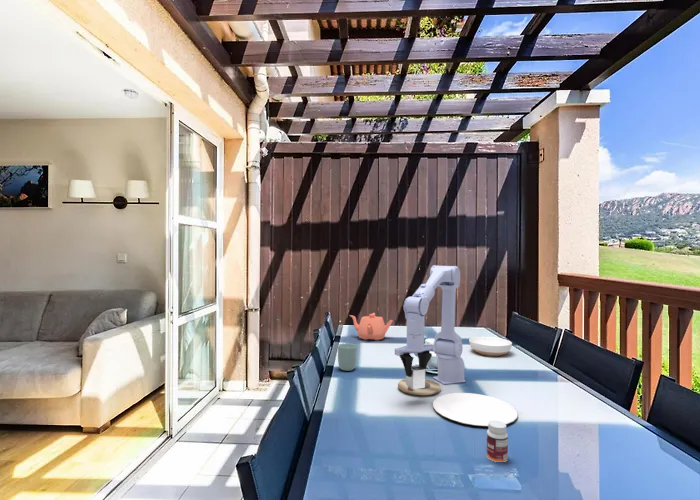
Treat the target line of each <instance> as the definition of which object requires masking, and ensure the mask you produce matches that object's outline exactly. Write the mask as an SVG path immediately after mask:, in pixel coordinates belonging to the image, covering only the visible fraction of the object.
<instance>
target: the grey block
mask: <svg viewBox="0 0 700 500" xmlns="http://www.w3.org/2000/svg"><path fill="white" fill-rule="evenodd" d="M405 379H406V385H407V386H408V387H410V388H411V389H419V388H425V379H426V370H425V369H424V368H422V367H420V366H419V364H417V365H412V374H411V377H408V376H406V375H405Z"/></svg>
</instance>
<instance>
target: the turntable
mask: <svg viewBox="0 0 700 500" xmlns="http://www.w3.org/2000/svg"><path fill="white" fill-rule="evenodd" d="M441 387H442V386H441V385H440V383H439V382H437V381H434V380H431V379H426V378H425V388H419V389H411V388H410V387H408V386H407V385H406V378H405V379H402V380H399V381H398V382H397V388H398V389H399V390H400V391H402V392H404V393H406V394H410V395H418V396H430V395H435V394H438V393H439V392H441Z"/></svg>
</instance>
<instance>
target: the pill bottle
mask: <svg viewBox="0 0 700 500" xmlns="http://www.w3.org/2000/svg"><path fill="white" fill-rule="evenodd" d="M487 428H488V429H487V430H486V458H487V459H488V460H489V459H490V460H492V461H491V462H493V461H494V462H493V463H496V462H505V461H507V462H508V460H509V458H508V456H509V455H508V453H509V452H508V450H509V447H508V446H509V433H508V432H507V425H506V424H505V423H503V422H501V421H496V420H492V421H489V423H488V427H487ZM507 459H508V460H507ZM490 460H489V461H490ZM505 463H506V462H505Z"/></svg>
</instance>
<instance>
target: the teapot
mask: <svg viewBox="0 0 700 500" xmlns="http://www.w3.org/2000/svg"><path fill="white" fill-rule="evenodd" d="M348 315H349V317H350V318H352V321H353V327H354V329H355V331H356V332H357V335H358V338H359V339H362V341H368V340H374V341H376V342H377V341H380V340H383V339H384V338H385V335H386V334H387V332H388V330H389V329H390V326H391V325H392V323H393V322H394V320H392V319H389V320H388V322H387V323H386V324H385V321H384V318H383V316H376V313H375V312H372V313H369V314H368V315H365V316H362V317H361V318H360V322H359V323H358V321H357V317H356V316H355V315H352V314H351V315H350V314H348Z"/></svg>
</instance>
